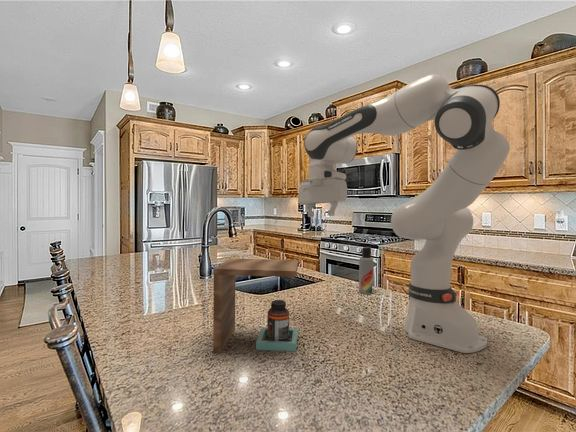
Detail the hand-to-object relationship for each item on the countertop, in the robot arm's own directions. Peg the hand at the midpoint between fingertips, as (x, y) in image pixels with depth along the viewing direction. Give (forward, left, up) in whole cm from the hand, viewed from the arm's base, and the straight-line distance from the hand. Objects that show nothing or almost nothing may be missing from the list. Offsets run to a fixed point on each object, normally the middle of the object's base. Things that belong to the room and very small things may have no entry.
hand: (320, 216), depth 116 cm
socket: (-11, +26, -34) cm, 44 cm away
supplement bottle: (-11, +26, -34) cm, 44 cm away
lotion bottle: (+8, -36, -34) cm, 50 cm away
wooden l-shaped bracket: (-7, +30, -34) cm, 46 cm away
